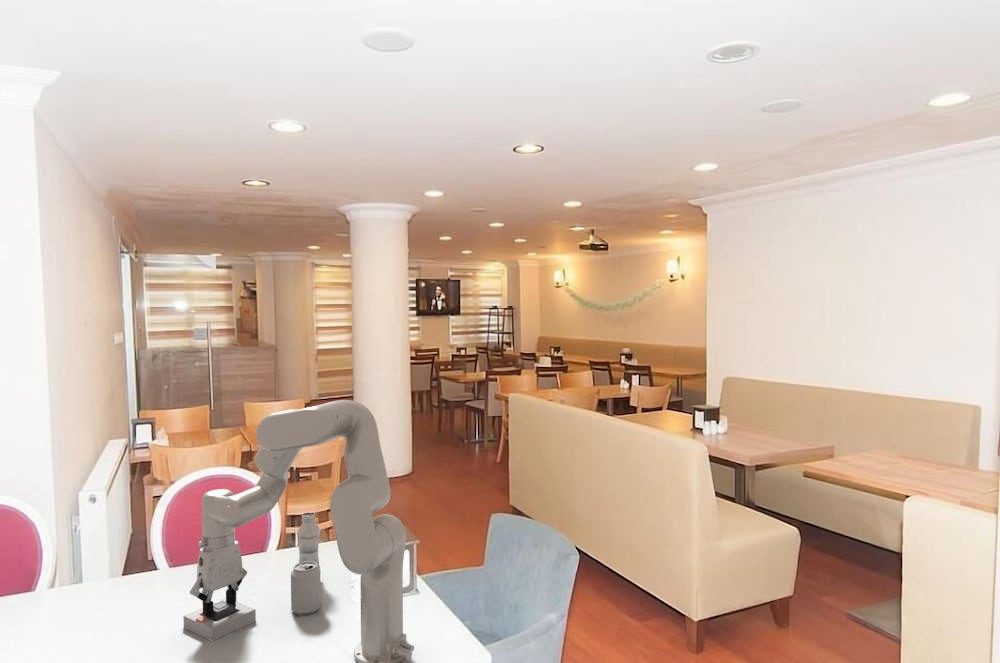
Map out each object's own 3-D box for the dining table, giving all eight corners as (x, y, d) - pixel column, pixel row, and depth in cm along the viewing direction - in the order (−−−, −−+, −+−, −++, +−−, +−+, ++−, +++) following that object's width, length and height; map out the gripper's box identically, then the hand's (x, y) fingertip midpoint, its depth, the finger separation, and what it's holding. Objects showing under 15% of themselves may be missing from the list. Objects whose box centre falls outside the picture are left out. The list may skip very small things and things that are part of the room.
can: (312, 617, 164) (311, 571, 163) (285, 615, 165) (285, 569, 165) (325, 604, 171) (325, 560, 171) (300, 602, 173) (299, 558, 172)
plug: (233, 624, 161) (233, 604, 161) (217, 631, 158) (217, 611, 157) (222, 619, 164) (222, 600, 163) (206, 627, 160) (206, 606, 160)
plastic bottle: (292, 585, 183) (291, 516, 183) (306, 576, 190) (305, 509, 189) (312, 588, 181) (311, 518, 181) (325, 578, 188) (324, 511, 187)
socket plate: (255, 620, 162) (255, 607, 162) (212, 641, 152) (211, 626, 152) (227, 608, 169) (227, 595, 169) (183, 627, 159) (183, 613, 159)
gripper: (195, 554, 151) (196, 629, 151) (257, 533, 165) (258, 602, 166) (177, 547, 155) (178, 621, 155) (239, 527, 169) (241, 595, 170)
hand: (219, 610), depth 160 cm, fingers open, 5 cm apart
